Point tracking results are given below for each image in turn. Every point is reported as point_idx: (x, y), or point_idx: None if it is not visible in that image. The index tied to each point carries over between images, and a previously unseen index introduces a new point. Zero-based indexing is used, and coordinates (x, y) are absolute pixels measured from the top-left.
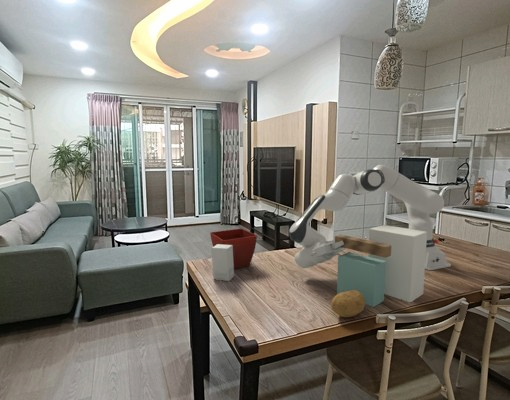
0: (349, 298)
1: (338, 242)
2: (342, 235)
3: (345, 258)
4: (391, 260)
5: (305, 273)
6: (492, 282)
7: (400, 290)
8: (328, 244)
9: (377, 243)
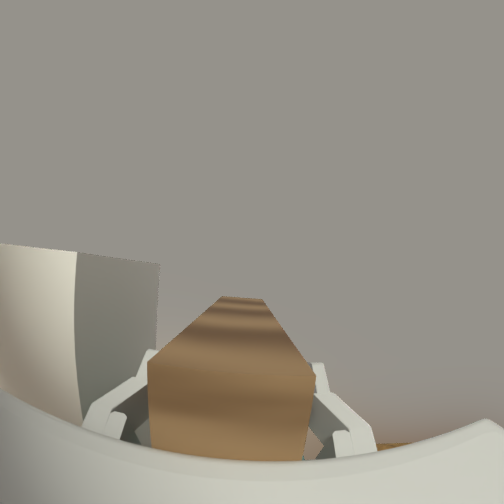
0: (393, 444)
1: (333, 395)
2: (191, 351)
3: (302, 456)
4: (131, 375)
5: None
6: None
7: (149, 442)
8: (430, 439)
9: (238, 301)
